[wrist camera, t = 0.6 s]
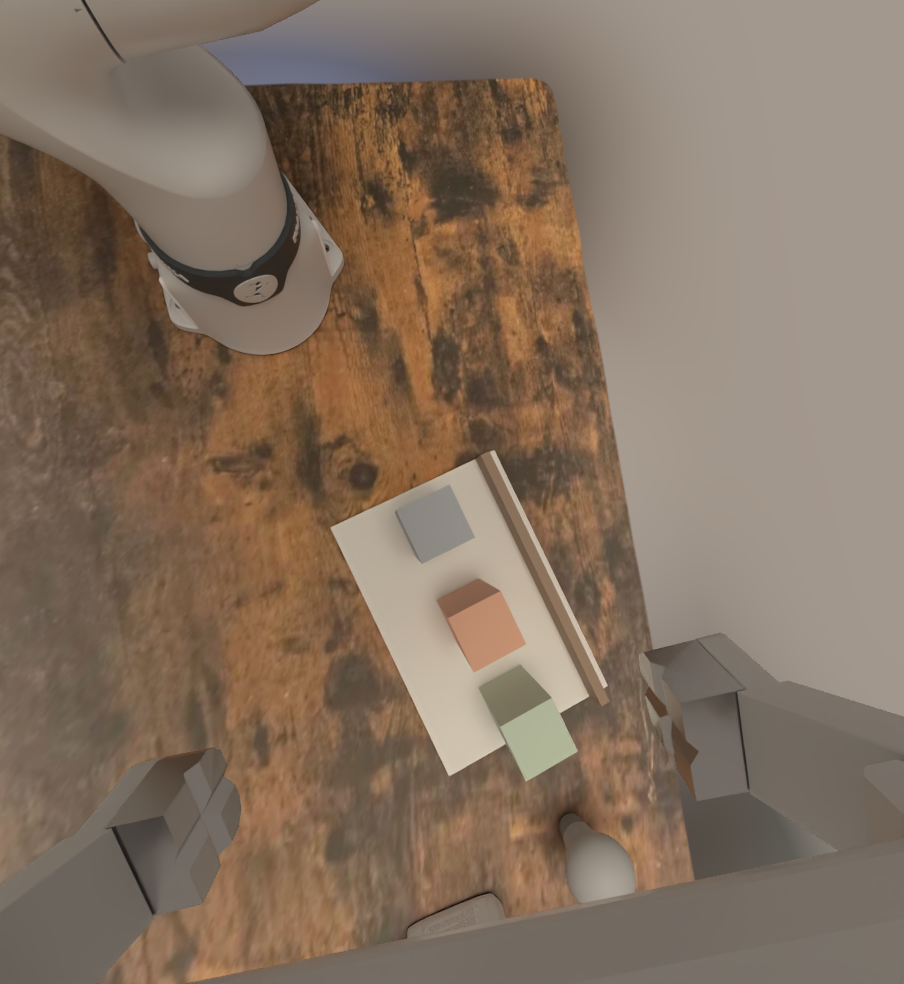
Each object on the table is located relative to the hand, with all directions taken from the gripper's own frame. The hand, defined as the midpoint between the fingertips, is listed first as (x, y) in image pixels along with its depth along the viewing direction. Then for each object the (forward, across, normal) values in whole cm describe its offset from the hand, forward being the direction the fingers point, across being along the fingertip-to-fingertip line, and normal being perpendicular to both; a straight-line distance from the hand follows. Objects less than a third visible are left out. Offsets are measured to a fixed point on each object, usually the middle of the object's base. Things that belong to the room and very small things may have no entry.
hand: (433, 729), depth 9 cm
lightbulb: (+36, -3, +41) cm, 55 cm away
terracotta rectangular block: (+39, +2, +17) cm, 43 cm away
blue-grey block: (+41, +4, +7) cm, 42 cm away
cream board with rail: (+41, +1, +17) cm, 44 cm away
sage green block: (+37, 0, +26) cm, 46 cm away
